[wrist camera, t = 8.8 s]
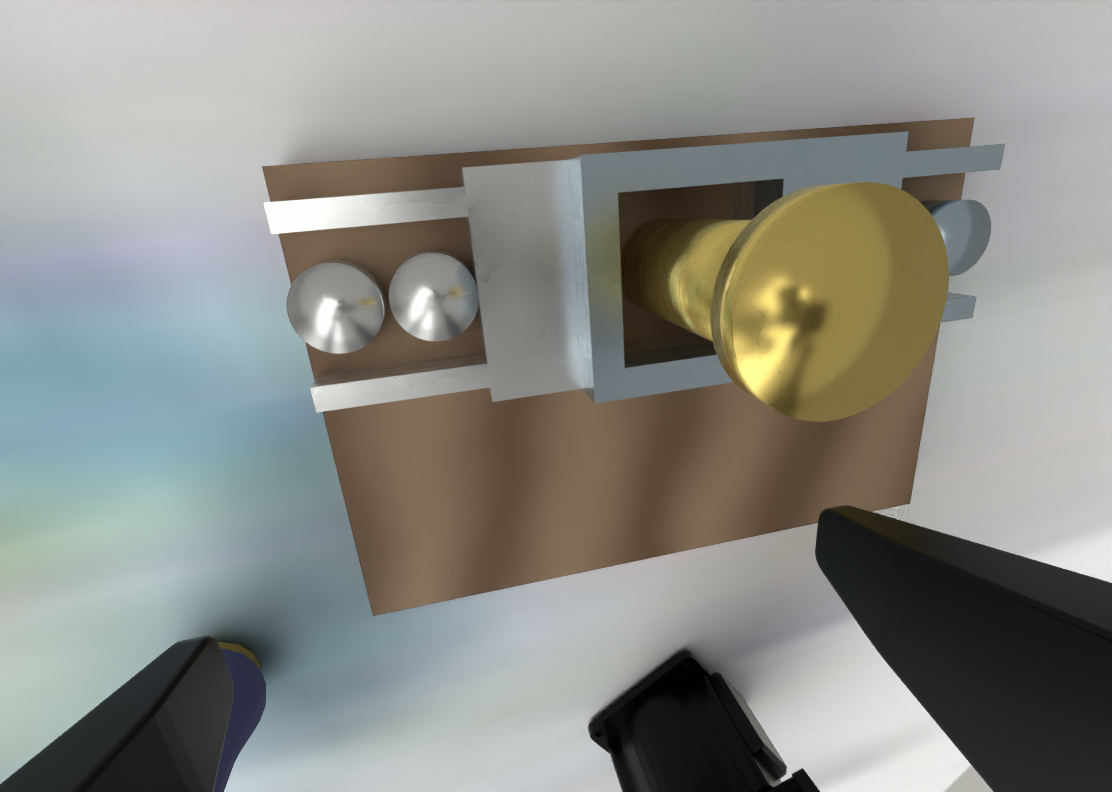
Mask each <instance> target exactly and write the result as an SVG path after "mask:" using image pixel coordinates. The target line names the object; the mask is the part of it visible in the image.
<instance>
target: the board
mask: <svg viewBox="0 0 1112 792" xmlns="http://www.w3.org/2000/svg"><path fill="white" fill-rule="evenodd" d="M973 123H974V118H962V119H948V120H933V121H918V122H904V123H889V124H875V125H860V126H845V127H831V128H816V129H802V130H787V131H773V132H758V133H743V134H729V135H714V136H700V137H685V138H670V139H656V140H641V141H627V142H612V143H598V144H583V145H568V146H554V147H539V148H525V149H510V150H495V151H481V152H466V153H452V154H437V155H423V156H408V157H393V158H379V159H364V160H350V161H335V162H320V163H306V164H291V165H277V166H262V168H263V172H264V176H265V180H266V185H267V189H268V193H269V197H270V201H271V202H279V201H292V200H304V199H317V198H329V197H342V196H355V195H367V194H380V193H392V192H405V191H418V190H430V189H443V188H455V187H462V185H461V177H460V170H461V168H463V167H477V166H490V165H504V164H518V163H531V162H545V161H558V160H568V159H571V158H573V157H576V156H579V155H588V154H602V153H616V152H630V151H644V150H657V149H671V148H685V147H699V146H713V145H727V144H741V143H755V142H769V141H782V140H796V139H810V138H824V137H838V136H852V135H866V134H880V133H894V132H907V131H909V133H908V140H907V148H906V152H909V151H921V150H934V149H946V148H959V147H970V141H971V135H972V129H973ZM964 177H965V172H964V173H953V174H942V175H930V176H919V177H908V178H903V179H902V186H901V190H903V191H905V192H907V193H909V194H910V195H911V196H913V197H914V198H916V199H917V200H918V201H919V202H920V203H922V202H925V201H929V200H961V195H962V189H963V183H964ZM730 187H731V183H725V184H714V185H702V186H690V187H679V188H667V189H655V190H644V191H632V192H620V193H618V207H619V234H620V253H621V251H622V248H623V246H624V244H625V242H626V240H627V239H628V237H629V236H630V235H631V234H632V233H633V232H634V231H635V230H636V229H637V228H638V227H639V226H641V225H642V224H644V223H646V222H648V221H650V220H653V219H657V218H699V219H730ZM279 237H280V241H281V245H282V249H283V253H284V257H285V261H286V266H287V270H288V274H289V278H290V282H291V285H292V284H293V282H294V281H295V279H296V278H297V277H298V276H299V275H300V274H301V273H303V272H304V271H306V270H307V269H309V268H311V267H313V266H315V265H317V264H319V263H322V262H324V261H327V260H331V259H347V260H352V261H355V262H358V263H360V264H362V265H364V266H365V267H367V268H368V269H370V270H371V271H372V272H373V273H374V274H375V275H376V276H377V277H378V279H379V280H380V281H381V283H382V285H383V287H384V290H385V292H386V296H387V312H386V315H385V318H384V321H383V323H382V325H381V327H380V329H379V332H378V333H377V335H376V336H375V338H374V339H373V340H372V341H371V342H370V343H369V344H367V345H366V346H364V347H363V348H361V349H359V350H357V351H353V352H350V353H342V354H337V353H329V352H325V351H321V350H319V349H317V348H315V347H313V346H311V345H309V344H308V343H307V342H306V347H307V351H308V355H309V359H310V363H311V367H312V371H313V375H314V379H315V380H316V378H317V377H318V376H319V374H320V373H328V372H335V371H343V370H350V369H358V368H365V367H373V366H380V365H388V364H395V363H403V362H411V361H418V360H426V359H433V358H441V357H448V356H456V355H463V354H471V353H478V352H483V345H482V338H481V330H480V322H479V315H478V309H477V313H476V316H475V318H474V320H473V321H472V323H471V324H470V325H469V327H468V328H467V329H466V330H465V331H463V332H462V333H461V334H459V335H458V336H456V337H454V338H451V339H448V340H444V341H427V340H423V339H420V338H417V337H415V336H413V335H411V334H410V333H408V332H407V331H406V330H404V329H403V328H402V327H401V326H400V324H399V323H398V322H397V320H396V319H395V317H394V315H393V313H392V310H391V307H390V303H389V289H390V284H391V281H392V279H393V276H394V274H395V273H396V271H397V269H398V268H399V266H400V265H401V264H402V263H403V261H404V260H406V259H407V258H408V257H409V256H411V255H413V254H415V253H417V252H420V251H424V250H440V251H445V252H447V253H450V254H452V255H454V256H455V257H457V258H458V259H459V260H461V261H462V262H463V263H464V264H465V266H466V267H467V268H468V270H469V271H470V273H471V275H472V276H473V269H472V261H471V254H470V246H469V238H468V231H467V223H466V217H459V218H447V219H436V220H425V221H414V222H402V223H391V224H380V225H369V226H357V227H346V228H335V229H324V230H312V231H301V232H290V233H279ZM473 278H474V277H473ZM622 312H623V338H624V341H631V340H638V339H645V338H653V337H660V336H667V335H675V334H682V333H690V332H691V331H688V330H686V329H684V328H682V327H680V326H678V325H676V324H674V323H671V322H669V321H667V320H665V319H663V318H661V317H659V316H656V315H654V314H652V313H650V312H648V311H646V310H644V309H642V308H640V307H638V306H636V305H635V304H634V303H632V302H631V301H630V300H629V298H628V297H627V296H626V294H625V293H624V291H623V289H622ZM939 327H940V324H939ZM939 327H938V329H937V332H936V334H935V336H934V338H933V340H932V342H931V344H930V346H929V348H928V350H927V351H926V353H925V355H924V356H923V358H922V359H921V361H920V362H919V364H918V365H917V366H916V368H915V369H914V370H913V371H912V373H911V374H910V375H909V376H908V377H907V378H906V379H905V380H904V381H903V382H902V383H901V385H900V386H898V387H897V388H896V389H895V390H894V391H893V392H892V393H890V394H889V395H888V396H887V397H885V398H884V399H882V400H881V401H879V402H878V403H877V404H875V405H873V406H871V407H870V408H868V409H866V410H864V411H862V412H859V413H857V414H855V415H852V416H849V417H846V418H842V419H839V420H832V421H825V422H812V421H804V420H799V419H795V418H792V417H788V416H786V415H784V414H782V413H780V412H778V411H776V410H774V409H773V408H771V407H769V406H768V405H766V404H764V403H762V402H761V401H759V400H757V399H756V398H754V397H752V396H750V395H749V394H747V393H746V392H745V391H743V390H742V389H740V388H739V387H738V386H737V385H736V384H735V383H734V382H732V383H725V384H719V385H712V386H706V387H699V388H693V389H686V390H680V391H674V392H667V393H661V394H654V395H648V396H641V397H635V398H628V399H622V400H615V401H609V402H602V403H596V404H595V403H594V402H593V401H592V400H591V399H590V397H589V396H588V395H587V394H586V393H585V391H584V390H583V389H576V390H570V391H563V392H556V393H550V394H543V395H536V396H530V397H523V398H516V399H509V400H503V401H496V402H492V399H491V396H490V392H489V389H488V388H483V389H476V390H469V391H463V392H456V393H449V394H442V395H435V396H428V397H421V398H414V399H407V400H400V401H393V402H386V403H379V404H373V405H366V406H359V407H352V408H345V409H338V410H331V411H324V412H323V415H324V419H325V423H326V428H327V432H328V436H329V440H330V444H331V448H332V452H333V456H334V460H335V464H336V468H337V472H338V476H339V480H340V484H341V488H342V492H343V496H344V500H345V505H346V509H347V513H348V517H349V521H350V525H351V529H352V533H353V537H354V541H355V545H356V549H357V553H358V557H359V561H360V565H361V569H362V573H363V577H364V581H365V586H366V590H367V594H368V598H369V602H370V606H371V610H372V614H373V616H376V615H381V614H386V613H390V612H395V611H400V610H405V609H409V608H414V607H419V606H424V605H428V604H433V603H438V602H443V601H447V600H452V599H457V598H462V597H467V596H471V595H476V594H481V593H486V592H490V591H495V590H500V589H505V588H509V587H514V586H519V585H524V584H529V583H533V582H538V581H543V580H548V579H552V578H557V577H562V576H567V575H571V574H576V573H581V572H586V571H590V570H595V569H600V568H605V567H610V566H614V565H619V564H624V563H629V562H633V561H638V560H643V559H648V558H652V557H657V556H662V555H667V554H671V553H676V552H681V551H686V550H691V549H695V548H700V547H705V546H710V545H714V544H719V543H724V542H729V541H733V540H738V539H743V538H748V537H753V536H757V535H762V534H767V533H772V532H776V531H781V530H786V529H791V528H795V527H800V526H805V525H810V524H814V523H818V519H819V515H820V513H821V512H822V511H823V510H824V509H827V508H832V507H837V506H841V505H849V506H853V507H856V508H860V509H863V510H867V511H870V512H872V511H876V510H881V509H886V508H891V507H896V506H900V505H905V504H910V500H911V494H912V488H913V482H914V476H915V470H916V464H917V458H918V452H919V446H920V440H921V434H922V428H923V422H924V416H925V410H926V404H927V398H928V392H929V386H930V380H931V375H932V369H933V363H934V357H935V351H936V345H937V339H938V333H939Z"/></svg>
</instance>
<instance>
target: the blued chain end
mask: <svg viewBox="0 0 1112 792" xmlns="http://www.w3.org/2000/svg"><path fill="white" fill-rule="evenodd" d="M908 133H909V131H907V132H894V133H880V134H866V135H852V136H838V137H824V138H810V139H796V140H782V141H769V142H755V143H741V144H727V145H713V146H699V147H685V148H671V149H657V150H644V151H630V152H616V153H602V154H588V155H579V156H576V157H573V158H571V159H568V160H567V170H568V185H569V200H570V214H571V229H572V244H573V259H574V274H575V289H576V303H577V318H578V333H579V348H580V363H581V378H582V389H583V390H584V391H585V393H586V394H587V395H588V396H589V397H590V399H591V400H592V401H593V402H594V403H595V404H596V403H602V402H609V401H615V400H622V399H628V398H635V397H641V396H648V395H654V394H661V393H667V392H674V391H680V390H686V389H693V388H699V387H706V386H712V385H719V384H725V383H732V382H733V381H732V380H731V378H730V377H729V376H728V374H727V373H726V372H725V370H724V368H723V367H722V365H721V363H720V361H719V359H718V356H717V354H716V351H715V348H714V344H713V342H712V341H711V342H704V343H697V344H690V345H683V346H676V347H668V348H661V349H654V350H647V351H640V352H633V353H625V354H624V338H623V312H622V286H621V260H620V234H619V207H618V193H620V192H631V191H643V190H655V189H666V188H678V187H690V186H702V185H713V184H725V183H737V182H748V181H755V194H754V217H755V216H756V215H757V214H759V213H760V212H761V211H762V210H763V209H764V208H766V207H767V206H769V205H770V204H771V203H773V202H774V201H776V200H778V199H780V198H781V197H783V196H785V195H787V194H789V193H792V192H794V191H797V190H800V189H802V188H807V187H811V186H816V185H829V184H844V183H859V182H874V183H883V184H887V185H890V186H894V187H897V188H899V189H901V186H902V179H903V178H908V177H919V176H930V175H942V174H953V173H964V172H975V171H986V170H998V169H1000V168H1001V162H1002V157H1003V152H1004V146H1005V144H997V145H984V146H972V147H959V148H946V149H934V150H921V151H909V152H906V148H907V140H908ZM921 204H922V205H923V206H924V207H925V208H926V209H927V210H928V211H929V213H930V214H931V216H932V217H933V218H934V220H935V221H936V223H937V225H938V228H939V230H940V232H941V234H942V237H943V240H944V243H945V247H946V252H947V258H948V269H949V276H955V275H959V274H961V273H963V272H965V271H967V270H968V269H970V268H971V267H972V266H973V265H974V264H975V263H976V262H977V261H978V260H979V259H980V257H981V256H982V254H983V253H984V251H985V249H986V247H987V244H988V241H989V238H990V232H991V221H990V216H989V214H988V211H987V210H986V208H985V207H984V206H983V205H982V204H981V203H979V202H977V201H974V200H929V201H925V202H922V203H921ZM754 217H753V218H754ZM975 301H976V297H975V296H969V295H962V294H956V293H950V292H948V293H947V298H946V304H945V308H944V312H943V315H942V318H941V322H947V321H954V320H961V319H968V318H972V317H973V312H974V306H975Z"/></svg>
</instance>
